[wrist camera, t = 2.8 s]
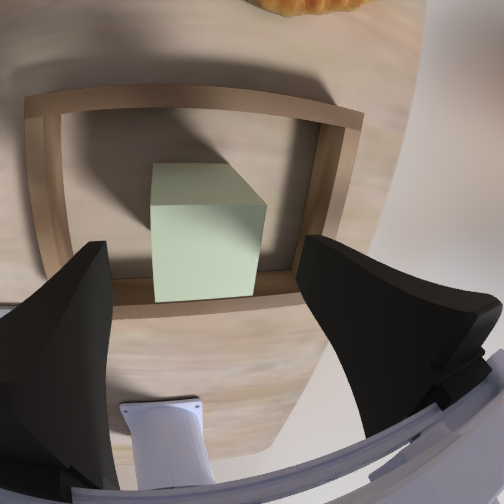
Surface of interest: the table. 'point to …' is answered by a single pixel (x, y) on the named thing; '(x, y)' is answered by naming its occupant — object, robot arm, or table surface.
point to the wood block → (203, 232)
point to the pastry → (307, 6)
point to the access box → (187, 96)
